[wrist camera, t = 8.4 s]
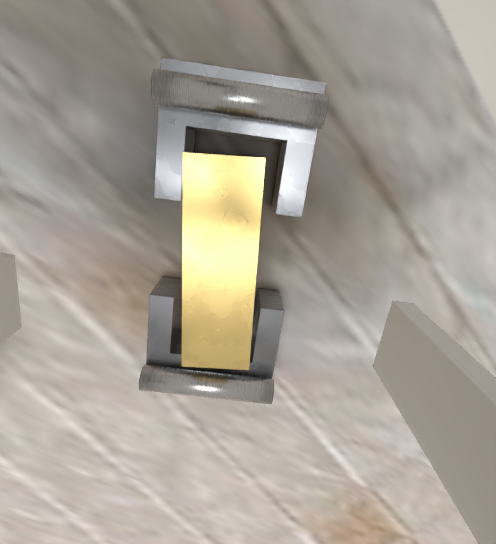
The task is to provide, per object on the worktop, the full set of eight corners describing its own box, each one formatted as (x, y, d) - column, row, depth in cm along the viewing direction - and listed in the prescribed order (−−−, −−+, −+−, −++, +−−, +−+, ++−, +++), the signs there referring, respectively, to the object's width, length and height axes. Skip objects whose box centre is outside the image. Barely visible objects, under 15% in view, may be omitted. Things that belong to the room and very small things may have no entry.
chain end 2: (162, 276, 25) (142, 305, 20) (279, 291, 25) (287, 322, 20) (157, 360, 27) (138, 404, 22) (264, 372, 27) (269, 418, 22)
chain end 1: (174, 74, 20) (152, 47, 16) (313, 94, 21) (333, 75, 16) (167, 192, 23) (146, 200, 18) (293, 209, 23) (305, 222, 18)
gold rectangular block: (199, 154, 22) (182, 152, 16) (260, 158, 22) (265, 157, 17) (195, 320, 26) (181, 366, 20) (248, 323, 26) (249, 370, 20)
